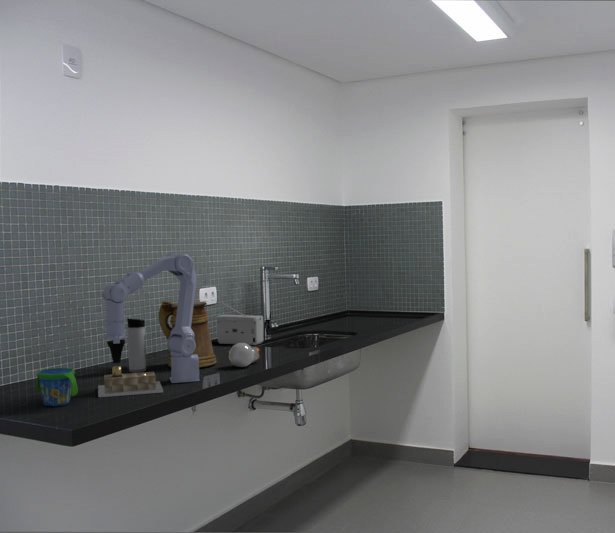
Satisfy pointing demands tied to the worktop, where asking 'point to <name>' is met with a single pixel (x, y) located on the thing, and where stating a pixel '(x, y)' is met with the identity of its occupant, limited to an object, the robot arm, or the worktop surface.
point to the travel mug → (136, 345)
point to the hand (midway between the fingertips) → (116, 362)
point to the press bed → (129, 391)
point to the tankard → (197, 326)
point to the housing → (130, 381)
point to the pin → (116, 371)
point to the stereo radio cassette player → (240, 329)
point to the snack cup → (56, 386)
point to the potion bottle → (243, 354)
